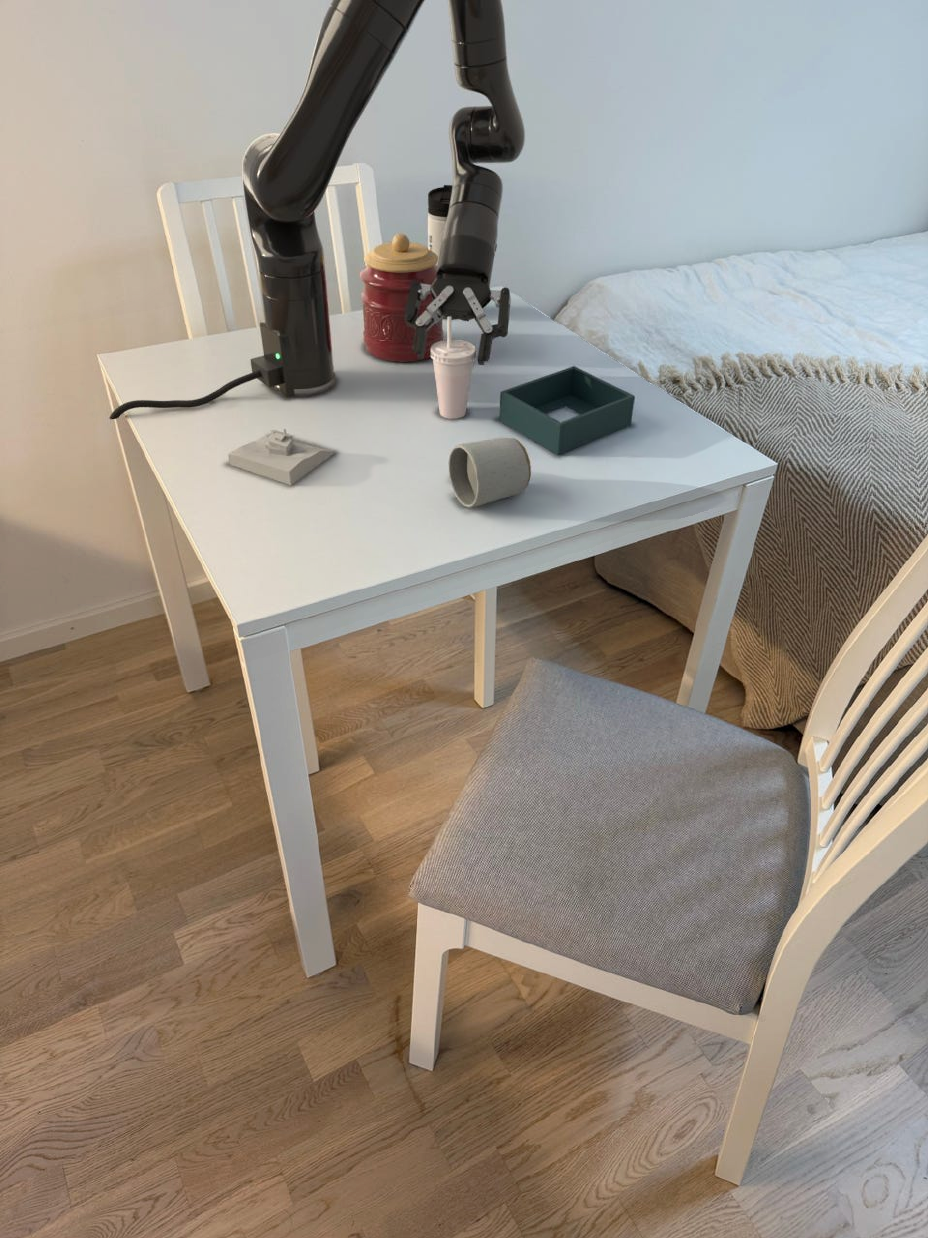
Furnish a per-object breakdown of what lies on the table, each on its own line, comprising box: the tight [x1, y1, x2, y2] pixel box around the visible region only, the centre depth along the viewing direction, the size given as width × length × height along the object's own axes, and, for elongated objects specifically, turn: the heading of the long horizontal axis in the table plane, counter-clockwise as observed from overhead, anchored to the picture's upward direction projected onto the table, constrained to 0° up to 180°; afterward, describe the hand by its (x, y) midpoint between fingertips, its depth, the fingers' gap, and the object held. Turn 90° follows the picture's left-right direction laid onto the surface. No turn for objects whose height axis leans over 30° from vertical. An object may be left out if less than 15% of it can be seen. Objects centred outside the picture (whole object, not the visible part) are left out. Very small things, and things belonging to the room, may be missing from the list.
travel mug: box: [427, 184, 453, 319], centre depth 150 cm, size 6×7×20 cm
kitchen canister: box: [359, 233, 444, 363], centre depth 139 cm, size 13×13×18 cm
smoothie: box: [430, 316, 477, 420], centre depth 123 cm, size 6×6×14 cm
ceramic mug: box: [448, 437, 532, 509], centre depth 109 cm, size 11×8×8 cm
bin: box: [498, 365, 636, 456], centre depth 124 cm, size 14×12×4 cm
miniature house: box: [227, 428, 335, 486], centre depth 115 cm, size 12×11×4 cm
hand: (450, 359), depth 121 cm, fingers open, 8 cm apart
